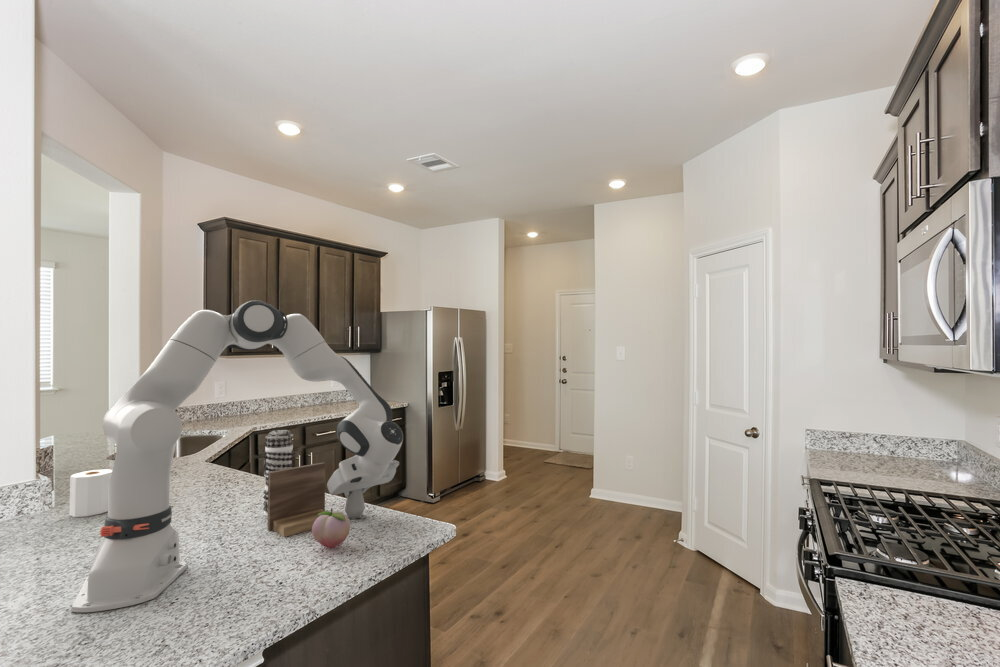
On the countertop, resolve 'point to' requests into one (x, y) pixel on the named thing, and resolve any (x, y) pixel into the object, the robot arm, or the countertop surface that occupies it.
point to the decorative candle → (277, 456)
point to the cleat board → (295, 498)
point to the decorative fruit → (331, 528)
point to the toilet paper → (89, 492)
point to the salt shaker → (355, 504)
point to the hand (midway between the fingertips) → (353, 492)
